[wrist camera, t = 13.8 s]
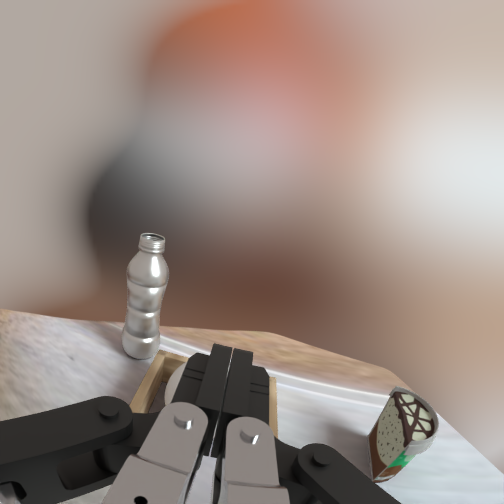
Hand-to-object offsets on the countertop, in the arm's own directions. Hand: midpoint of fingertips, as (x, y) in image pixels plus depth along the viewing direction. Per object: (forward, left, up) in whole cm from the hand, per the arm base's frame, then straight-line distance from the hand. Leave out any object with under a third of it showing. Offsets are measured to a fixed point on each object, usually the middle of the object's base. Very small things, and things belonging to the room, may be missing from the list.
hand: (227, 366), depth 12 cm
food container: (-27, -17, -26) cm, 41 cm away
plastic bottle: (+13, -32, -26) cm, 43 cm away
